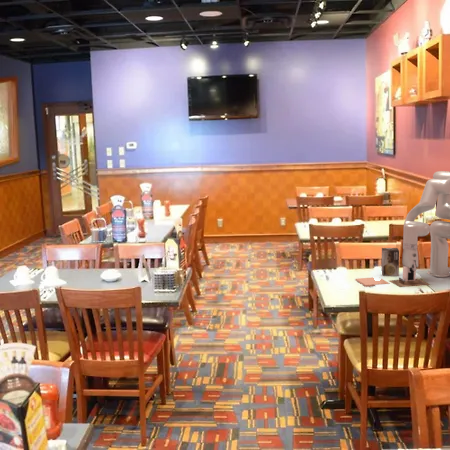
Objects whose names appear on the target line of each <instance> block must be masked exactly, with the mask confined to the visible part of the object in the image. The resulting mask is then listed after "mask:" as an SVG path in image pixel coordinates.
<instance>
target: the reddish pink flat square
mask: <svg viewBox="0 0 450 450" xmlns="http://www.w3.org/2000/svg"><path fill="white" fill-rule="evenodd" d="M354 280H355V281H356V282H357V283H359V284H360V285H362V286H364V287H365V288H369V287H376V286H377V285H389V284H390V283H391V282H389V281H386V280H385V279H383V278H381V280H380V281H375V280H374V278H373V276H372V277H362V278H361V277H360V278H359V277H358V278H355V279H354Z"/></svg>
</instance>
